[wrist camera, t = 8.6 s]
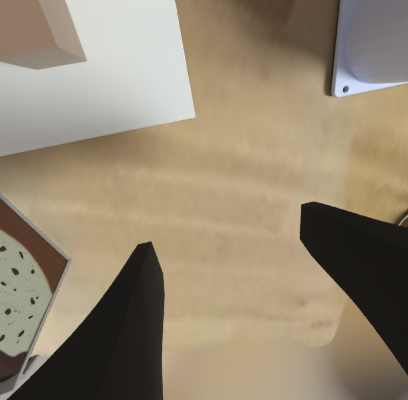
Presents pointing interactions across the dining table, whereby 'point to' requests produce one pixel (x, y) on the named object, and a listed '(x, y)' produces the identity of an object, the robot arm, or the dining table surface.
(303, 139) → the dining table surface
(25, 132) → the cover sheet
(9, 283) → the food container
